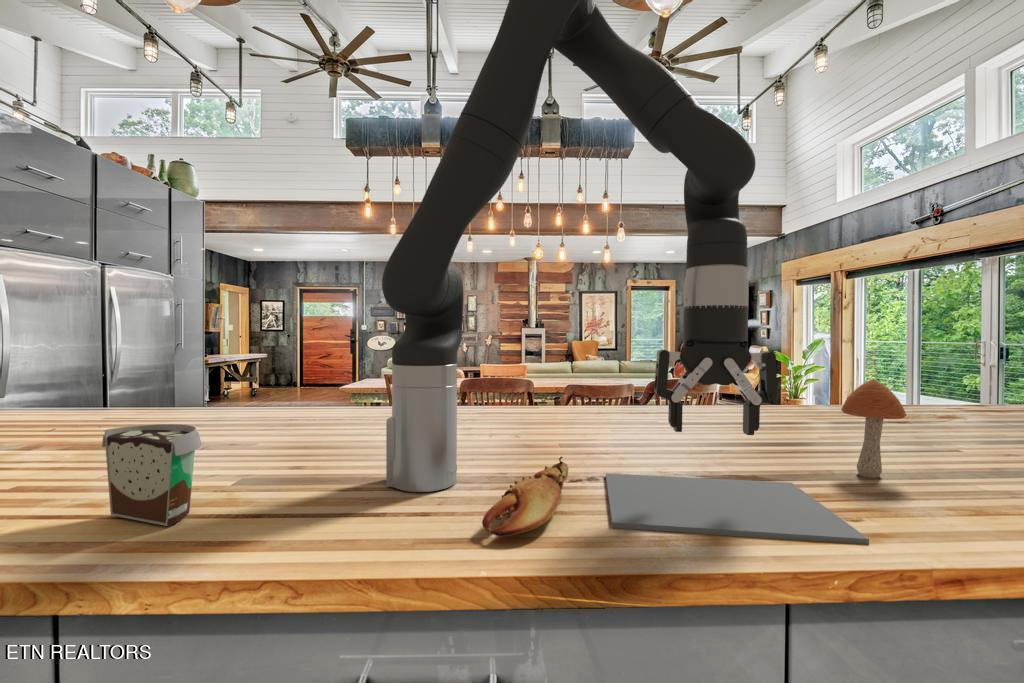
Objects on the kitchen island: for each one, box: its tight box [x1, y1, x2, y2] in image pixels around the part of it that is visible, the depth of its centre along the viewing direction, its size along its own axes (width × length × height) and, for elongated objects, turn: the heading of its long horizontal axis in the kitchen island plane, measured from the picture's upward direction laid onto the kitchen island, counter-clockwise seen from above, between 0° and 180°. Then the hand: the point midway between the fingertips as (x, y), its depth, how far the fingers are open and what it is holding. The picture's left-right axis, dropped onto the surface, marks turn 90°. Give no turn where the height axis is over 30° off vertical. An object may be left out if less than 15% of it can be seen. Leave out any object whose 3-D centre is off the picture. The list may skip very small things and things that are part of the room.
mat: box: [605, 472, 870, 545], centre depth 61 cm, size 26×19×1 cm
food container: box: [101, 423, 202, 527], centre depth 58 cm, size 12×6×10 cm, turn 71°
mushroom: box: [841, 378, 907, 479], centre depth 73 cm, size 8×8×15 cm
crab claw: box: [481, 456, 569, 537], centre depth 58 cm, size 7×5×20 cm
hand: (712, 432), depth 61 cm, fingers open, 8 cm apart
